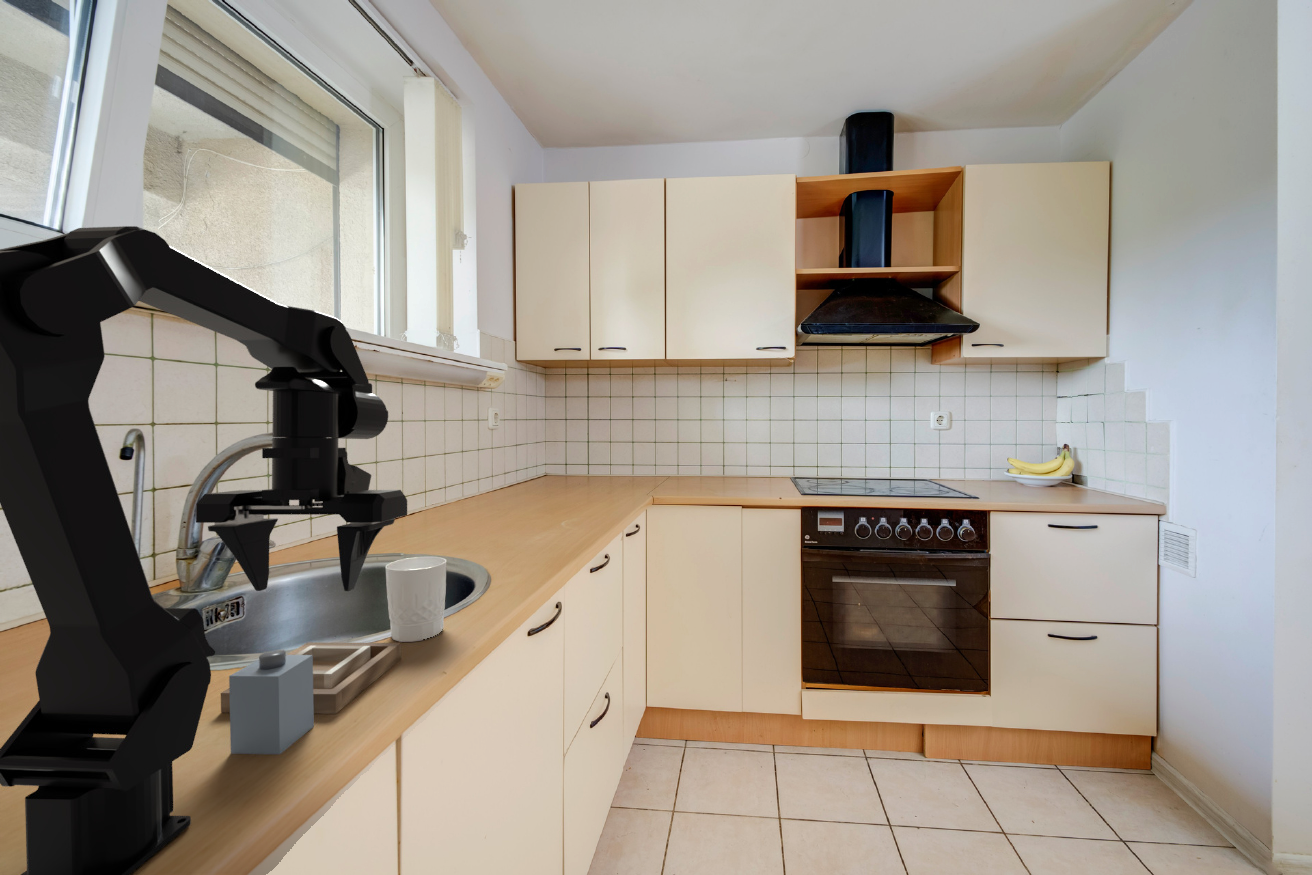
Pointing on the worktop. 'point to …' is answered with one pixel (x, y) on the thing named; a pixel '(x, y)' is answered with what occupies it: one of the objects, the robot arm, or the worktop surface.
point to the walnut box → (341, 671)
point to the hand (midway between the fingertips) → (305, 590)
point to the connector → (271, 703)
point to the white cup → (416, 597)
